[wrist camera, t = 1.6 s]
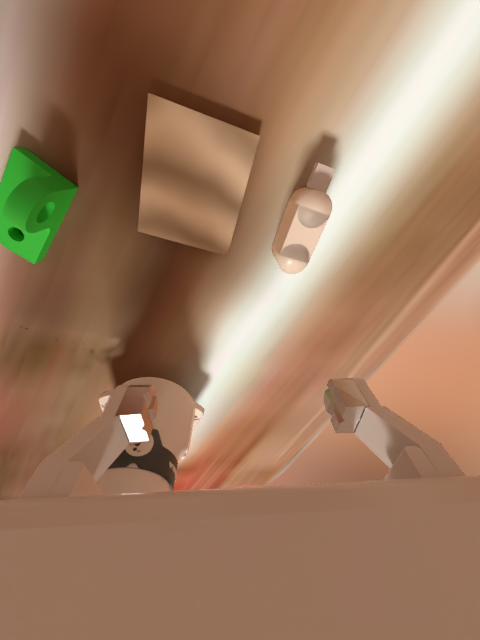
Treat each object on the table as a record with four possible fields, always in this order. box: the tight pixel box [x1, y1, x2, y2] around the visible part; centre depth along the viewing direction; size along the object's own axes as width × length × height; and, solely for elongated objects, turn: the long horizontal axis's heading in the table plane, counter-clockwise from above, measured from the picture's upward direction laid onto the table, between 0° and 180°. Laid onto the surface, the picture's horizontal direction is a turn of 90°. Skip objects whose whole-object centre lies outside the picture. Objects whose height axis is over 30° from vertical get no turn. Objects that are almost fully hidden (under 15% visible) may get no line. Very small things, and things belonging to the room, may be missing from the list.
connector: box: [272, 163, 336, 274], centre depth 31 cm, size 12×4×5 cm, turn 163°
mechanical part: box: [0, 147, 78, 264], centre depth 28 cm, size 12×6×8 cm, turn 138°
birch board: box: [138, 93, 260, 256], centre depth 30 cm, size 14×12×2 cm
